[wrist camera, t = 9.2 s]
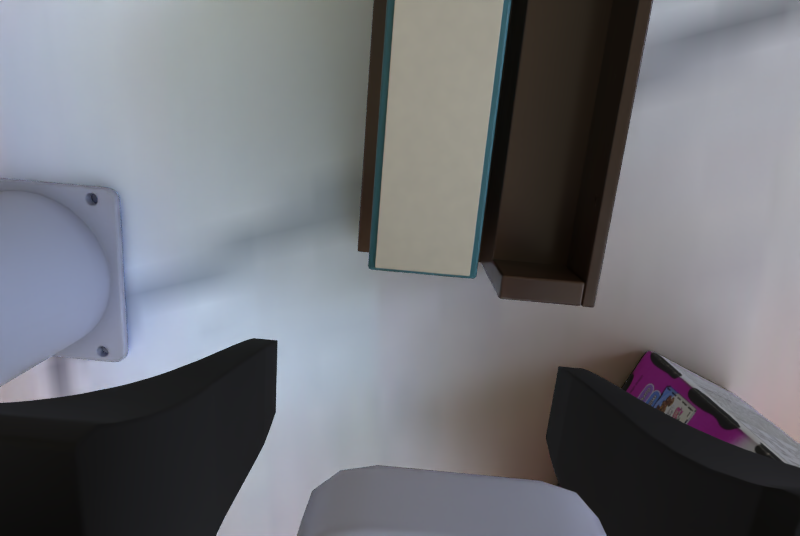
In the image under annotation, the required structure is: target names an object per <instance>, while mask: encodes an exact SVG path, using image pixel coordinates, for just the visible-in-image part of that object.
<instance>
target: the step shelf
mask: <svg viewBox="0 0 800 536" xmlns="http://www.w3.org/2000/svg"><path fill="white" fill-rule="evenodd" d="M652 4H653V0H511V8H510V16H509V23H508V31H507V39H506V47H505V55H504V63H503V70H502V78H501V86H500V94H499V102H498V110H497V118H496V125H495V133H494V141H493V149H492V157H491V165H490V172H489V180H488V188H487V196H486V204H485V212H484V220H483V227H482V235H481V243H480V251H479V259H478V262H481V264H482V266H483V268H484V270H485V272H486V274H487V276H488V277H489V279H490V281H491V283H492V285H493V287H494V289H495V291H496V293H497V295H498V297H499V298H500V299H509V300H520V301H531V302H542V303H553V304H564V305H575V306H579V305H581V306H583V307H594V305H595V300H596V295H597V289H598V284H599V279H600V274H601V269H602V263H603V258H604V253H605V248H606V243H607V237H608V232H609V227H610V222H611V217H612V211H613V206H614V201H615V196H616V191H617V185H618V180H619V175H620V170H621V165H622V159H623V154H624V149H625V144H626V139H627V134H628V128H629V123H630V118H631V113H632V108H633V102H634V97H635V92H636V87H637V82H638V76H639V71H640V66H641V61H642V56H643V50H644V45H645V40H646V35H647V30H648V24H649V19H650V14H651V9H652ZM386 7H387V0H374V4H373V19H372V35H371V50H370V66H369V81H368V97H367V112H366V128H365V144H364V159H363V175H362V190H361V206H360V221H359V237H358V251H360V252H369V248H370V234H371V220H372V206H373V191H374V177H375V163H376V149H377V135H378V120H379V106H380V92H381V78H382V64H383V49H384V35H385V21H386Z"/></svg>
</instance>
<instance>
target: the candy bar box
mask: <svg viewBox="0 0 800 536" xmlns="http://www.w3.org/2000/svg"><path fill="white" fill-rule="evenodd" d="M622 389H623V390H624V391H626V392H628V393H630V394H631V395H633V396H635V397H636V398H638V399H640V400H642V401H643V402H645V403H647V404H649V405H651V406H652V407H654V408H656V409H658V410H660V411H662V412H664V413H665V414H667V415H669V416H671V417H673V418H675V419H677V420H679V421H681V422H683V423H685V424H687V425H689V426H691V427H693V428H695V429H698V430H700V431H702V432H704V433H707V434H709V435H711V436H714V437H716V438H718V439H721V440H723V441H725V442H728V443H730V444H733V445H735V446H738V447H741V448H743V449H746V450H749V451H752V452H754V453H757V454H760V455H763V456H766V457H769V458H771V459H774V460H777V461H780V462H783V463H787V464H790V465H793V466H796V467H799V468H800V444H799V443H798V442H796V441H795V440H794V439H792V438H791V437H790V436H788V435H787V434H786V433H785V432H784V431H782V430H781V429H780V428H779V427H777V426H776V425H775V424H773V423H772V422H771V421H769V420H768V419H766V418H765V417H764V416H763V415H761V414H760V413H759V412H757V411H756V410H755V409H754V408H752V407H751V406H750V405H749V404H747V403H746V402H745V401H743V400H742V399H741V398H739V397H738V396H736V395H735V394H734V393H732V392H730V391H728V390H726V389H724V388H722V387H720V386H718V385H717V384H715V383H713V382H711V381H708V380H706V379H704V378H702V377H701V376H699V375H697V374H695V373H693V372H691V371H689V370H687V369H685V368H683V367H682V366H680V365H678V364H676V363H674V362H672V361H670V360H669V359H667V358H665V357H663V356H661V355H659V354H657V353H655V352H653V351H648V352H646V354H645V355H644V356H643V357H642V359H641V360H640V362H639V363H638V365H637V366H636V368H635V369H634V371H633V372H632V374H631V375H630V377H629V378H628V380H627V381H626V383H625V384H624V386H623V387H622ZM557 486H558V487H560V484H559V483H558V485H557Z"/></svg>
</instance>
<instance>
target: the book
mask: <svg viewBox="0 0 800 536" xmlns="http://www.w3.org/2000/svg"><path fill="white" fill-rule="evenodd" d="M510 8H511V0H387V7H386V21H385V35H384V49H383V64H382V78H381V92H380V106H379V120H378V135H377V149H376V163H375V177H374V191H373V206H372V220H371V234H370V248H369V262H368V267H369V269H371V270H382V271H393V272H404V273H415V274H426V275H438V276H449V277H460V278H471V279H474V278H475V277H476V274H477V267H478V259H479V251H480V243H481V235H482V227H483V220H484V212H485V204H486V196H487V188H488V180H489V172H490V165H491V157H492V149H493V141H494V133H495V125H496V118H497V110H498V102H499V94H500V86H501V78H502V70H503V63H504V55H505V47H506V39H507V31H508V23H509V16H510Z"/></svg>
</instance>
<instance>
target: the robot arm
mask: <svg viewBox="0 0 800 536" xmlns="http://www.w3.org/2000/svg"><path fill="white" fill-rule="evenodd" d="M92 194H95V195H96V196H97V199H98V201H97V204H96V203H94V202H93V201H92V198H91V196H92ZM102 346H103V347H105V348H107V350H108V353H106V352H104V351H103V349H102ZM127 354H128V337H127V320H126V302H125V285H124V267H123V250H122V233H121V215H120V200H119V196H118V194H117V193H116V192H115V191H114V190H113V189H111V188H107V187H95V186H84V185H73V184H62V183H51V182H39V181H28V180H17V179H6V178H0V387H1V386H2V385H4V384H6V383H7V382H9V381H11V380H12V379H14V378H16V377H18V376H19V375H21V374H23V373H24V372H26V371H28V370H29V369H31V368H33V367H34V366H36V365H38V364H39V363H41V362H43V361H44V360H46V359H48V358H49V357H51V356H55V357H66V358H77V359H87V360H98V361H109V362H119V361H121V360H122V359H124V358H125V357H126V356H127ZM276 375H277V340H266V339H255V338H253V339H249V340H246V341H243V342H241V343H238V344H236V345H233V346H231V347H229V348H226V349H224V350H222V351H219V352H217V353H215V354H212V355H210V356H208V357H205V358H203V359H201V360H198V361H196V362H193V363H190V364H188V365H185V366H182V367H180V368H177V369H175V370H172V371H169V372H167V373H164V374H161V375H158V376H154V377H151V378H148V379H144V380H141V381H137V382H134V383H130V384H126V385H122V386H118V387H113V388H108V389H103V390H98V391H93V392H88V393H84V394H78V395H72V396H65V397H58V398H51V399H42V400H33V401H23V402H11V403H0V536H216V534H217V532H218V530H219V528H220V526H221V524H222V522H223V520H224V518H225V516H226V514H227V512H228V510H229V508H230V506H231V505H232V503H233V501H234V499H235V497H236V495H237V494H238V492H239V490H240V488H241V486H242V484H243V483H244V481H245V479H246V477H247V475H248V473H249V472H250V470H251V468H252V466H253V464H254V462H255V460H256V459H257V457H258V455H259V453H260V451H261V449H262V447H263V445H264V443H265V440H266V438H267V435H268V432H269V430H270V427H271V424H272V421H273V418H274V415H275V413H276ZM546 440H547V444H548V449H549V453H550V457H551V461H552V464H553V468H554V472H555V474H556V477H557V479H558V482H559V484H560V487H558V486H555V485H552V484H549V483H546V482H543V481H539V480H528V479H517V478H507V477H496V476H486V475H475V474H465V473H454V472H444V471H433V470H422V469H412V468H401V467H391V466H380V465H376V466H369V467H362V468H354V469H347V470H340V471H339V472H338V473H336V474H335V475H333V476H332V477H331V478H329V479H328V480H327V481H325V482H324V483H323V484H321V485H320V486H318V487H317V488H316V489H314V490H313V491H312V494H311V496H310V499H309V502H308V504H307V507H306V510H305V512H304V515H303V518H302V521H301V524H300V527H299V530H298V534H297V536H800V468H799V467H796V466H793V465H790V464H787V463H783V462H780V461H777V460H774V459H771V458H769V457H766V456H763V455H760V454H757V453H754V452H752V451H749V450H746V449H743V448H741V447H738V446H735V445H733V444H730V443H728V442H725V441H723V440H721V439H718V438H716V437H714V436H711V435H709V434H707V433H704V432H702V431H700V430H698V429H695V428H693V427H691V426H689V425H687V424H685V423H683V422H681V421H679V420H677V419H675V418H673V417H671V416H669V415H667V414H665V413H664V412H662V411H660V410H658V409H656V408H654V407H652V406H651V405H649V404H647V403H645V402H643V401H642V400H640V399H638V398H636V397H635V396H633V395H631V394H630V393H628V392H626V391H624V390H623V389H621V388H619V387H618V386H616V385H614V384H612V383H611V382H609V381H607V380H605V379H604V378H602V377H600V376H598V375H596V374H594V373H592V372H590V371H588V370H585V369H581V368H570V367H558V373H557V378H556V384H555V389H554V395H553V401H552V406H551V412H550V417H549V423H548V429H547V434H546Z"/></svg>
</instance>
